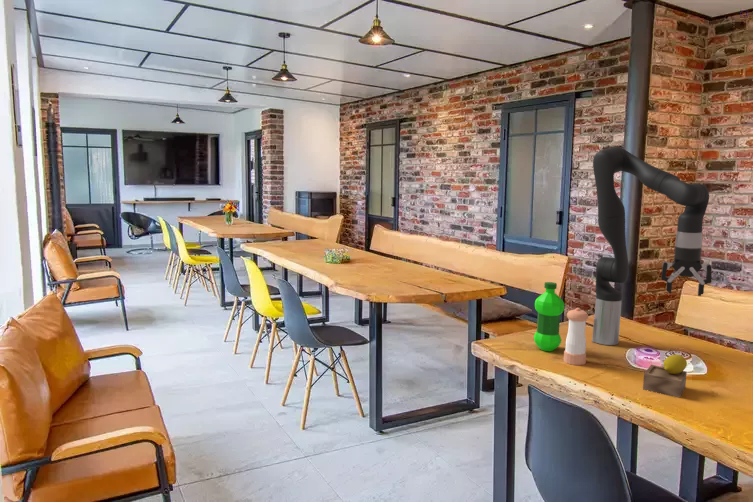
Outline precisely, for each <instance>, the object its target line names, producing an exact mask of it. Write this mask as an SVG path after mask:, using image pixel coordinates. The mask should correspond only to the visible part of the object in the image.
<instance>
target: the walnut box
mask: <svg viewBox="0 0 753 502" xmlns="http://www.w3.org/2000/svg"><path fill="white" fill-rule="evenodd" d="M687 373H688V372H687V371H685V370H683V371H682V372H681V373H678V374H670V373H668V372H667V371H666V370H665V369H664V366H660V365H657V364H650V365H649V367H648V368H647V369H646V371H645V372H644V373H643V385H642V390H644V391H647V390H648V392H651V391H653V392H652V393H656V392H657V393H656V394H660V393H661V394H660V395H666V396H669V397H673V396H674V398H678V399H680V398H681V396H682V394H683V392H684V391H685V390H686V384H687Z"/></svg>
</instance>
